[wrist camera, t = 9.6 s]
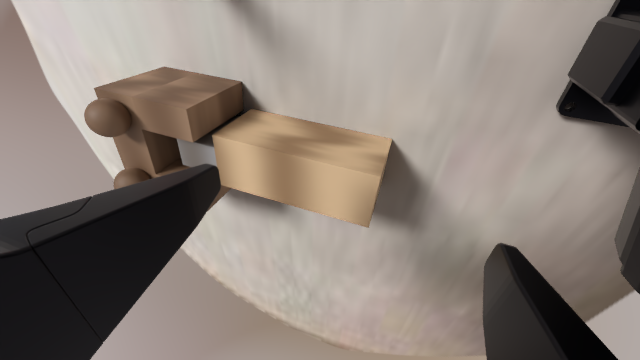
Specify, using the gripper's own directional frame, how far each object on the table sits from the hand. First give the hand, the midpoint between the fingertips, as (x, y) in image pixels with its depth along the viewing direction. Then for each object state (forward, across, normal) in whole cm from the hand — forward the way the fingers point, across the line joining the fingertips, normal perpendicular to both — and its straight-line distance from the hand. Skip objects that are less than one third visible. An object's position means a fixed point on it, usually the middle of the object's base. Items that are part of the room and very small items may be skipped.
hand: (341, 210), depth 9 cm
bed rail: (+12, +6, +5) cm, 14 cm away
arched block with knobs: (+12, +14, +5) cm, 19 cm away
